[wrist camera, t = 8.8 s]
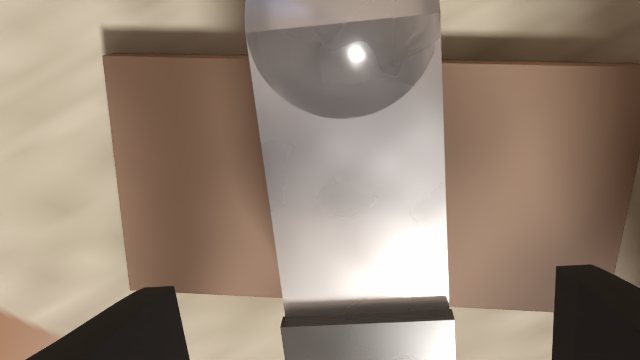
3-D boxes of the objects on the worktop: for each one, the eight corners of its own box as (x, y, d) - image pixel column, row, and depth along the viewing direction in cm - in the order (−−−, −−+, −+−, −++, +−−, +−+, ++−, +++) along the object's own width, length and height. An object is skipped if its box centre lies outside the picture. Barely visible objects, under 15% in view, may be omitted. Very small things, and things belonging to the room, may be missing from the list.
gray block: (325, 343, 19) (306, 505, 13) (279, -50, 15) (221, -75, 9) (429, 339, 19) (459, 504, 13) (411, -65, 15) (443, -102, 9)
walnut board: (138, 278, 20) (129, 290, 19) (114, 52, 17) (102, 55, 16) (595, 301, 19) (605, 314, 18) (644, 63, 16) (657, 67, 15)
